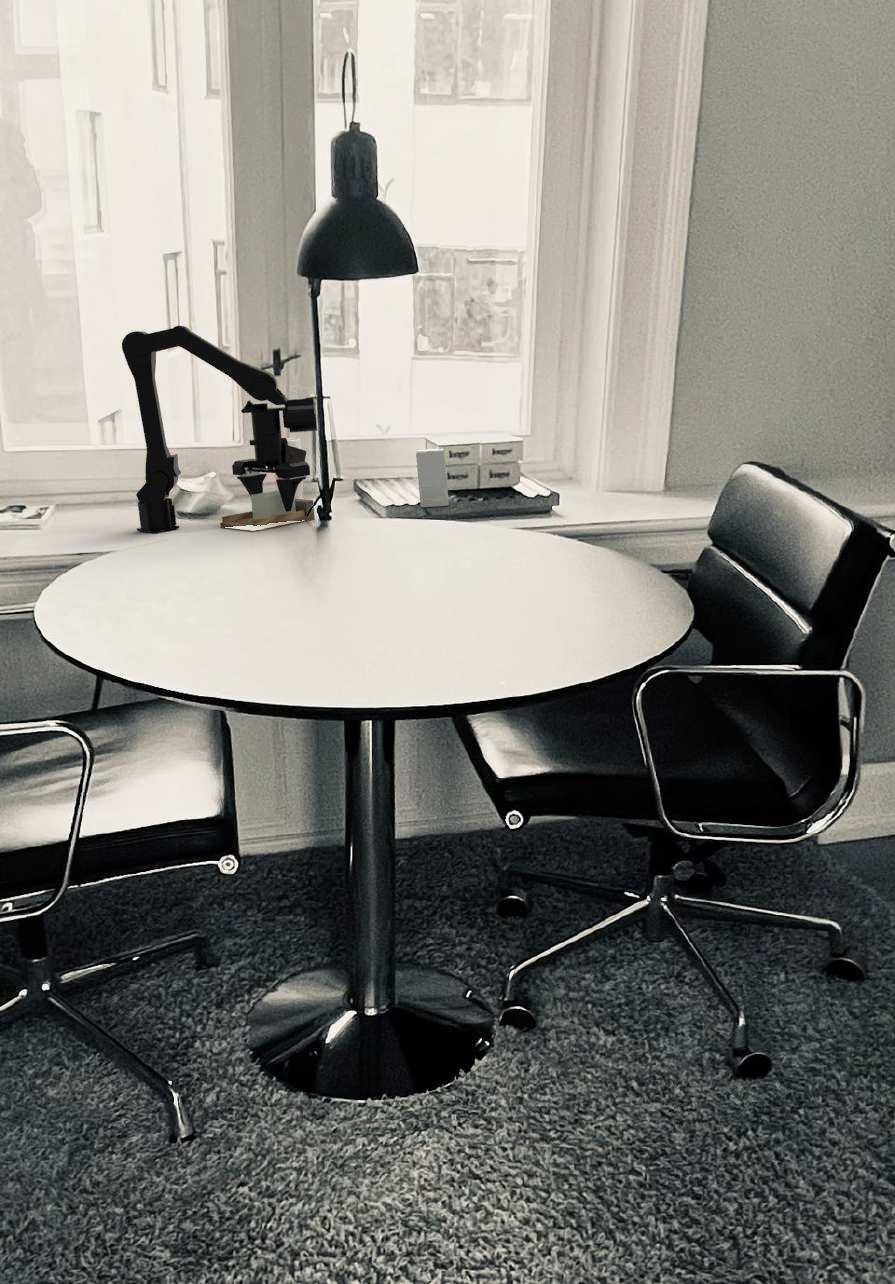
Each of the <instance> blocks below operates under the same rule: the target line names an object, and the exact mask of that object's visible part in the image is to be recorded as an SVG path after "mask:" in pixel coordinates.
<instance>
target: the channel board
mask: <svg viewBox="0 0 895 1284" xmlns="http://www.w3.org/2000/svg"><path fill="white" fill-rule="evenodd" d="M313 505H314V500H312V499H304V498H303V499H295V507H296V512H292V513H287V514H282V515H277V516H272V517H266V518H261V519H253V512H252V510H251V511H245V512H240V513H233V514H229V515H225V516H221V520H222V522H219V525H220V529H226V528H225V527H233V526H246V525H253V526H257V525H260V526H261V525H267V524H269V523H278V522H287V521H302V520H310V521H313V520H315V518H316V517H315V505H314V507H313V509H312V510H311V512H310V513H309V515H308V517H307V513H308V511H309V509H310V508H311V507H312V506H313Z"/></svg>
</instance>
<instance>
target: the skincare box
mask: <svg viewBox="0 0 895 1284" xmlns="http://www.w3.org/2000/svg"><path fill="white" fill-rule="evenodd" d="M415 458H416V468H417V479H418V480H417V481H418V491H419V492H418V493H419V494H418V495H419V504H420V507H421V508H432V507H433V508H434V507H435V508H436V507H437V508H438V507H448V506H449V503H450V502H448V501H449V491H448V478H447V477H448V475H447V467H446V466H447V465H446V451H445V448H431V449H430V448H428V449H426V448H425V449H418V450H416V452H415Z"/></svg>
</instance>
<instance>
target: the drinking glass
mask: <svg viewBox="0 0 895 1284" xmlns="http://www.w3.org/2000/svg"><path fill="white" fill-rule="evenodd" d="M285 438H286V439H287V442H288V446H292V447H296V448H299V449H302V448H303V447H302V446H303V445H302V439H301V438H299V437H285ZM302 450H303V449H302ZM274 477H275V482H276V480H277V479H283V478H278V476H277V475H276V473H274ZM303 481H304V480H302V481H301V482H300V483H299V485H298V487H297V490H296V493H295V499H304V491H303V490H304V489H303V487H304V486H303V485H304V484H303V483H304V482H303ZM275 484H277V482H276V483H275ZM276 488H277V490H279V489H278V486H277V485H276Z"/></svg>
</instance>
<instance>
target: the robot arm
mask: <svg viewBox="0 0 895 1284" xmlns="http://www.w3.org/2000/svg"><path fill="white" fill-rule="evenodd" d="M178 347H179V348H182V350H185V351H186V352H188V353H190V354H192V356H195V357H197V358H198V359H200V360H202V361H203V362H205V363H206V364H208V365H209V366H211V367H213V368H215V369H216V370H218V371H220V372H221V373H223V374H225V375H226V376H228V377H229V378H231V380H232V381H234V382H235V384H237V385H238V386H239V387H240V388H241V389H242V390H244V391H245V392H246V393H247V394H248V395H249V396H251V397H252V398H253V399H254V400H256V401H259V402H261V403H253V402H252V401H251V400H247V402H246V404H245V406H244V407H243V408H242V409H241V411H240V412H241V413H242V414H250V417H251V427H252V437H253V439H250V440H249V441H248V442H249V446H253V447H254V456H255V457H254V458H247V459H246V458H245V459H241V460H235V461H234V462H233V464H232V466H231V469H232V476H236V479H237V480H239V481H240V482H241V484H242V485H243V487H244V488H245V490H246V491H247V493H248V495H249V496H250V497H251V495H254V494H259V493H264V488H263V486H264V485H263V483H264V481H265V478H266V477H267V475H268V474H275V473H276V475H277V476H278V478H283V479H277V480H276V479H275V482H277V483H276V487H277V486H278V489H279V492H280V495H281V499H282V502H283V505H284V508H285V510H286V512H290V511H291V509H292V505H293V501H294V497H295V493H296V490H297V487H298V485H299V483H300V482H301V481H302V480H303V481H304V480H306V479H307V476H311V466H310V464H309V463H308V462H307V461H306V456H307V450H305V449H299V448H296V447H292V446H288V442H287V439H286V438H287V437H282V427H281V426H282V425H281V416H280V415H281V414H280V412H282V423H283V428H284V429H288V430H289V433H303V432H304V433H306V432H317V431H318V421H317V412H315V411H316V410H315V400H314V397H312V396H311V397H305V398H295V399H293V398H292V399H291V398H290V399H288V398H287V397H286V394H284V393H283V392H282V391H281V390H280V389H279V388H278V381H277V378H276V377H275V375H274V374H273V373H271V372H270V371H267V370H265V369H262V368H260V367H257V366H255V365H252V364H249V363H246V362H244V361H241V360H239V359H237V358H236V357H234V356H232V355H231V354H229V353H228V352H226V351H224V350H223V349H221V348H219V347H218V346H217V345H214V344H212V343H211V342H210V341H208V340H206V339H205V338H203V337H201V336H200V335H198V334H196V333H194V332H193V331H192V330H191V329H190V328H188V327H187V326H184V325H176V326H174V327H172V328H168V329H163V330H159V331H158V330H157V331H154V332H150V333H149V332H146V331H143V330H142V331H140V330H139V331H138V330H137V331H135V330H134V331H131V332H130V331H129V333H127V334H125V336H124V337H123V339H122V341H121V349H122V350H121V351H122V353H123V356H124V359H125V361H126V364H127V366H128V368H129V371H130V373H131V375H132V377H133V379H134V384H135V390H136V396H137V401H138V406H139V413H140V417H141V423H142V424H141V425H142V430H143V436H144V440H145V446H146V456H145V483H144V484H143V486H142V487H141V488H140V489H139V490H138V491H137V492H136V495H135V496H136V498H137V500H138V501H137V507H138V515H139V516H138V517H139V522H140V523H139V524H140V527H137V528H136V531H137V532H142V533H143V532H144V533H151V534H152V533H153V534H154V533H155V534H156V533H160V532H161V533H162V532H166V531H171V530H177V529H180V525H177V518H176V517H177V516H176V510H175V504H173V499H172V497H170V492H171V491H172V490H173V488H175V486H176V485H178V484H177V483H178V481H179V475H181V474H182V472H181V469H180V468H179V455H178V453H175V454H172V455H171V452H170V450H169V448H168V446H167V440H166V433H165V429H164V423H163V422H164V421H163V417H162V412H161V406H160V401H159V400H160V399H159V394H158V387H157V383H156V382H157V381H156V368H157V367H156V366H157V352H160V351H165V350H168V349H169V350H170V349H173V348H178ZM265 401H268V402H270V403H271V404H273V405H275V406H281V407H269V406H268V402H265ZM262 402H264V403H262ZM283 406H284V407H283ZM267 473H268V474H267ZM278 489H277V490H278Z"/></svg>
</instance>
